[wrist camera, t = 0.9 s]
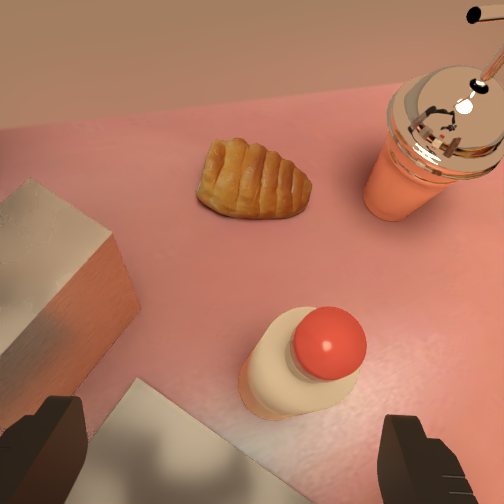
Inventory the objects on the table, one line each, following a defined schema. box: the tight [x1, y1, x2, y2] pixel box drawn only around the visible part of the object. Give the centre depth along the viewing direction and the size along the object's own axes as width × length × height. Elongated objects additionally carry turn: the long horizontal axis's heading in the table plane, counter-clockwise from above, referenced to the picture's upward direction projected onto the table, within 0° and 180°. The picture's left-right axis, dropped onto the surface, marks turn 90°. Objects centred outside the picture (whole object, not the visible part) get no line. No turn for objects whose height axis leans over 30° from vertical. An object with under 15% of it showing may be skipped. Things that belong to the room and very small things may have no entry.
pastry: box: [196, 138, 312, 219], centre depth 36 cm, size 9×7×4 cm
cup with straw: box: [363, 4, 504, 221], centre depth 30 cm, size 8×9×20 cm
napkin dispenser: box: [0, 177, 141, 429], centre depth 25 cm, size 10×5×13 cm, turn 147°
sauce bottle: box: [238, 307, 367, 420], centre depth 25 cm, size 5×5×14 cm
